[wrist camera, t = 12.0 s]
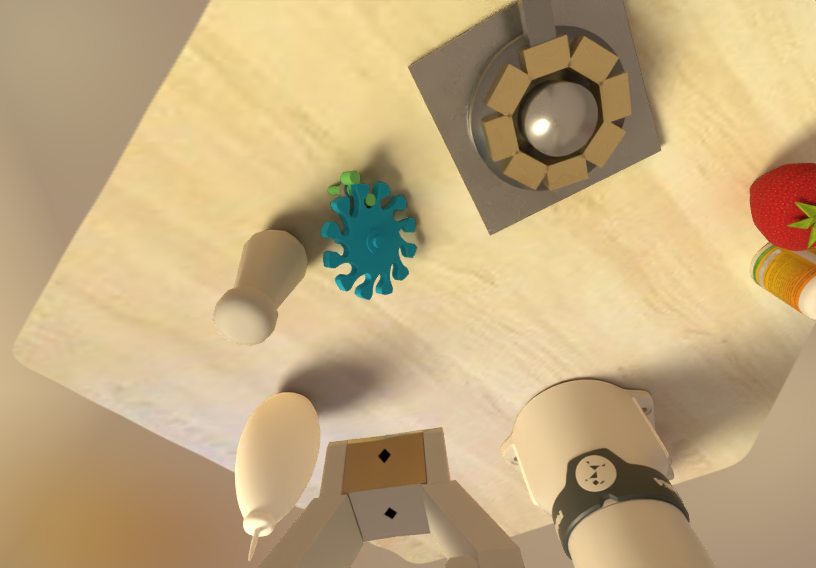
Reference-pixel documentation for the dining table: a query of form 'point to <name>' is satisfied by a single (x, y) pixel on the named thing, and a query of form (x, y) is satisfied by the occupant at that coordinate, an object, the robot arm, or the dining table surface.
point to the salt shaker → (260, 287)
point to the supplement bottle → (788, 276)
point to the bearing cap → (531, 105)
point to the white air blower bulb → (275, 461)
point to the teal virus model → (367, 236)
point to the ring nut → (537, 61)
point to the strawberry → (786, 206)
